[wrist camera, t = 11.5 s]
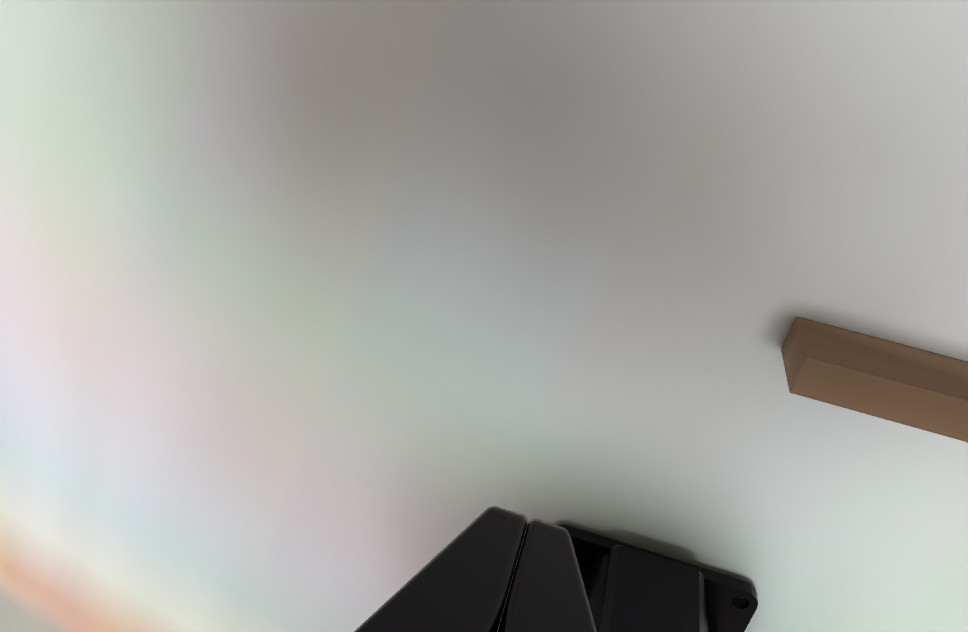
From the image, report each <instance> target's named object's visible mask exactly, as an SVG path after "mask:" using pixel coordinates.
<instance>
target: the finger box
mask: <svg viewBox="0 0 968 632" xmlns="http://www.w3.org/2000/svg"><path fill="white" fill-rule="evenodd" d="M781 351H782V356H783V361H784V366H785V371H786V376H787V381H788V386H789V391H790V393H793V394H797V395H800V396H804V397H808V398H811V399H815V400H818V401H822V402H826V403H829V404H833V405H836V406H840V407H843V408H847V409H851V410H854V411H858V412H861V413H865V414H869V415H872V416H876V417H879V418H883V419H886V420H890V421H894V422H897V423H901V424H904V425H908V426H912V427H915V428H919V429H922V430H926V431H929V432H933V433H937V434H940V435H944V436H947V437H951V438H955V439H958V440H962V441H965V442H968V362H965V361H961V360H957V359H953V358H949V357H946V356H942V355H938V354H934V353H931V352H927V351H923V350H919V349H916V348H912V347H908V346H904V345H900V344H897V343H893V342H889V341H885V340H882V339H878V338H874V337H870V336H867V335H863V334H859V333H855V332H851V331H848V330H844V329H840V328H836V327H833V326H829V325H825V324H821V323H818V322H814V321H810V320H806V319H803V318H799V317H796V318H795V321H794V323H793V325H792V327H791V329H790V332H789V334H788V336H787V338H786V341H785V343H784V345H783V347H782V350H781Z"/></svg>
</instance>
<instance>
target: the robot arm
mask: <svg viewBox="0 0 968 632" xmlns="http://www.w3.org/2000/svg"><path fill="white" fill-rule="evenodd" d="M526 527H527V529H526ZM525 530H526V532H525ZM524 534H525V536H524ZM523 538H524V540H523ZM522 541H523V543H522ZM521 545H522V547H521ZM520 548H521V550H520ZM519 552H520V554H519ZM518 556H519V557H518ZM517 559H518V561H517ZM516 563H517V565H516ZM515 566H516V568H515ZM514 570H515V572H514ZM513 573H514V575H513ZM512 577H513V579H512ZM511 581H512V582H511ZM510 584H511V586H510ZM509 588H510V590H509ZM508 591H509V593H508ZM507 595H508V597H507ZM738 596H740V597H744V598H742V599H741V598H736V597H738ZM506 598H507V600H506ZM505 602H506V604H505ZM757 605H758V598H757V592H756V589H755V587H754V586H753V585H751V584H750V583H748V582H746V581H743V580H739V579H736V578H733V577H730V576H727V575H723V574H720V573H717V572H714V571H711V570H708V569H704V568H701V567H698V566H695V565H692V564H689V563H685V562H682V561H679V560H676V559H673V558H669V557H666V556H663V555H660V554H657V553H654V552H650V551H647V550H644V549H641V548H638V547H635V546H631V545H628V544H625V543H622V542H619V541H615V540H612V539H609V538H606V537H603V536H600V535H596V534H593V533H590V532H587V531H584V530H580V529H577V528H574V527H571V526H567V525H558V526H557V525H553V524H550V523H547V522H544V521H541V520H538V519H533V520H531V521H529V523H528V525H527V518H526V517H525V516H524V515H522V514H518V513H515V512H512V511H509V510H506V509H502V508H499V507H495V506H493V507H490V508H488V509H487V510H485V511H484V512H483V513H482V514H481V515H480V516H479V517H478V518H477V519H476V520H475V521H473V522H472V523H471V524H470V525H469V526H468V527H467V528H466V529H465V530H464V531H463V532H462V533H460V534H459V535H458V536H457V537H456V538H455V539H454V540H453V541H452V542H451V543H450V544H449V545H447V546H446V547H445V548H444V549H443V550H442V551H441V552H440V553H439V554H438V555H437V556H435V557H434V558H433V559H432V560H431V561H430V562H429V563H428V564H427V565H426V566H425V567H424V568H422V569H421V570H420V571H419V572H418V573H417V574H416V575H415V576H414V577H413V578H412V579H411V580H409V581H408V582H407V583H406V584H405V585H404V586H403V587H402V588H401V589H400V590H399V591H398V592H396V593H395V594H394V595H393V596H392V597H391V598H390V599H389V600H388V601H387V602H386V603H385V604H383V605H382V606H381V607H380V608H379V609H378V610H377V611H376V612H375V613H374V614H373V615H372V616H370V617H369V618H368V619H367V620H366V621H365V622H364V623H363V624H362V625H361V626H360V627H359V628H357V629H356V630H355V631H354V632H497V631H498V632H744V631H745V629H746V627H747V625H748V624H749V622H750V620H751V618H752V616H753V614H754V613H755V611H756V609H757ZM504 606H505V607H504ZM503 609H504V611H503ZM502 613H503V615H502ZM501 616H502V618H501ZM500 620H501V622H500ZM499 623H500V625H499ZM498 627H499V629H498Z"/></svg>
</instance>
